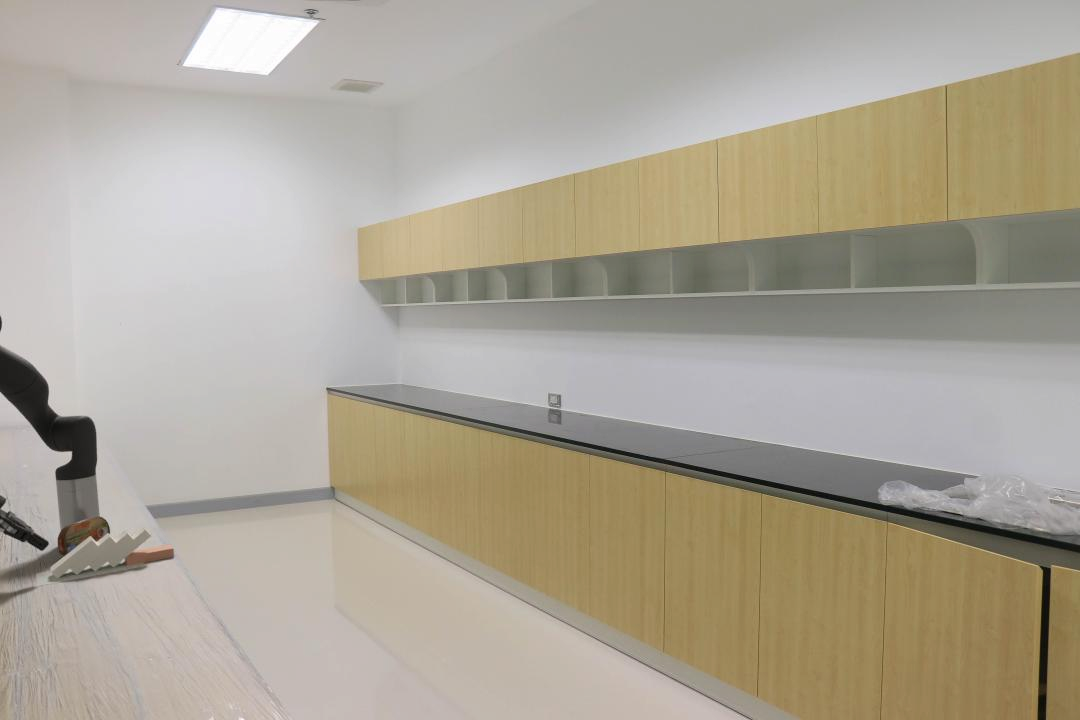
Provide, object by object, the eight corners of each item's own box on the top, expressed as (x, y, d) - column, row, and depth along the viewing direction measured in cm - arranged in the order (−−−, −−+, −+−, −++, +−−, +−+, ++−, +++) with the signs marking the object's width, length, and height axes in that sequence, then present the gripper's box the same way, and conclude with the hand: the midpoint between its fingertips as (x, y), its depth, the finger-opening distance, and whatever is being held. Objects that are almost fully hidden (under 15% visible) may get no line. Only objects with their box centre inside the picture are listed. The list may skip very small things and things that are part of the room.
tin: (67, 563, 196) (64, 528, 196) (56, 563, 197) (53, 528, 197) (112, 545, 211) (109, 513, 211) (101, 545, 212) (99, 513, 211)
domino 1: (50, 567, 185) (90, 535, 189) (56, 573, 186) (96, 542, 190) (51, 572, 181) (91, 539, 185) (57, 578, 182) (98, 546, 186)
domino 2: (69, 563, 187) (108, 532, 191) (75, 570, 188) (114, 538, 192) (70, 568, 183) (109, 536, 187) (76, 575, 183) (116, 542, 188)
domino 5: (124, 552, 193) (170, 544, 198) (124, 561, 193) (170, 552, 198) (126, 556, 189) (173, 548, 194) (126, 565, 189) (174, 556, 194)
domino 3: (87, 560, 189) (125, 529, 193) (93, 566, 190) (131, 535, 194) (88, 565, 185) (127, 533, 189) (95, 571, 185) (133, 539, 189)
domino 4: (105, 556, 191) (142, 526, 195) (111, 562, 192) (148, 532, 196) (107, 561, 187) (145, 530, 191) (113, 567, 187) (151, 536, 191)
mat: (36, 575, 187) (36, 573, 187) (139, 556, 198) (138, 555, 198) (37, 588, 177) (37, 586, 177) (145, 567, 188) (145, 565, 188)
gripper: (-14, 491, 171) (60, 538, 178) (-12, 482, 182) (57, 527, 189) (-43, 521, 168) (33, 567, 176) (-39, 510, 180) (32, 555, 187)
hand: (45, 546), depth 182 cm, fingers closed
